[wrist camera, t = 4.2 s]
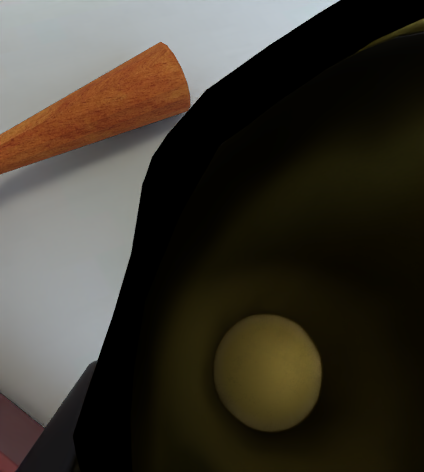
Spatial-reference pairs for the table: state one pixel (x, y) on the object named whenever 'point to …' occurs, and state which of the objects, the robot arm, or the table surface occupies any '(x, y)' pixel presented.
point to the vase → (278, 267)
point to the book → (15, 435)
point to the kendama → (101, 109)
